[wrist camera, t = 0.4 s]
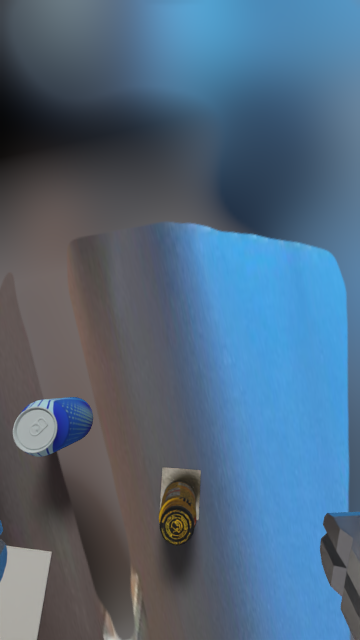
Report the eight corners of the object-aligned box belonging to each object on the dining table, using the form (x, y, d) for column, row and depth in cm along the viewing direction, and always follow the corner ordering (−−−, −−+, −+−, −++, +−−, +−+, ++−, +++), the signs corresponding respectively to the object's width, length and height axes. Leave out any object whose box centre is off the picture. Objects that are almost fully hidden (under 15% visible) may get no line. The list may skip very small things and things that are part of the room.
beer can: (95, 439, 59) (63, 457, 44) (53, 442, 59) (5, 462, 44) (94, 395, 61) (62, 397, 45) (53, 398, 61) (7, 402, 45)
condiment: (159, 516, 56) (152, 550, 44) (162, 467, 58) (156, 487, 46) (198, 519, 56) (201, 554, 44) (200, 470, 58) (204, 491, 46)
